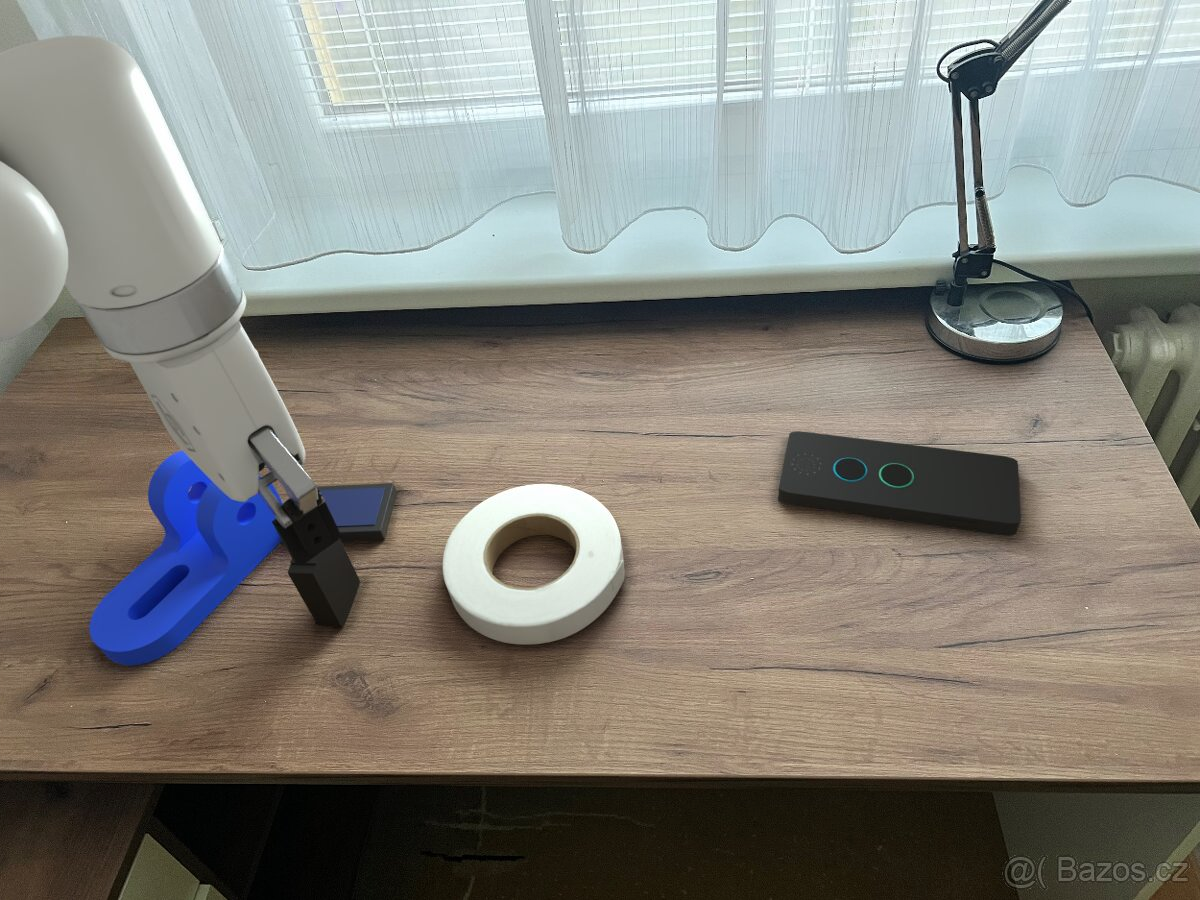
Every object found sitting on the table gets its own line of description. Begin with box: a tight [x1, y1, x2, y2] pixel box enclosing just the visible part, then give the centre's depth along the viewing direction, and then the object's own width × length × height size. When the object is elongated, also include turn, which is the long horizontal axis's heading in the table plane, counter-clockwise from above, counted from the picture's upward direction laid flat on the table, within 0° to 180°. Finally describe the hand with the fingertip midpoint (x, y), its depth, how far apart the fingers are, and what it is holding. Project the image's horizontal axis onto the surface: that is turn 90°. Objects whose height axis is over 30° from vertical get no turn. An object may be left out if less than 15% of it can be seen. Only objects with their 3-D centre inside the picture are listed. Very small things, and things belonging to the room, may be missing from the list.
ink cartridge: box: [286, 538, 361, 628], centre depth 73 cm, size 5×2×8 cm, turn 173°
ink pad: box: [316, 482, 398, 543], centre depth 82 cm, size 9×6×2 cm, turn 88°
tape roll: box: [442, 483, 626, 646], centre depth 75 cm, size 16×15×3 cm
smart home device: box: [777, 430, 1022, 536], centre depth 78 cm, size 8×2×20 cm
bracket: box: [89, 450, 284, 666], centre depth 76 cm, size 18×8×9 cm, turn 151°
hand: (279, 512), depth 58 cm, fingers open, 9 cm apart
